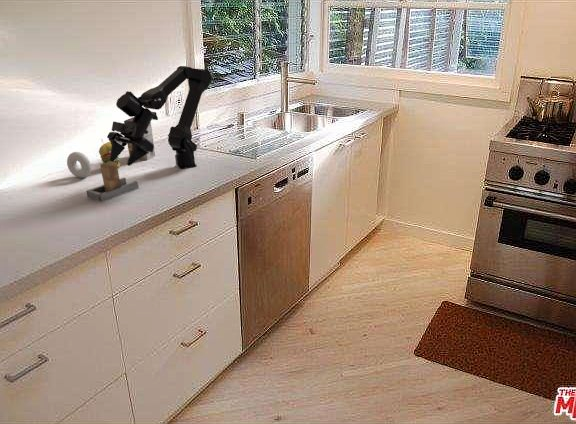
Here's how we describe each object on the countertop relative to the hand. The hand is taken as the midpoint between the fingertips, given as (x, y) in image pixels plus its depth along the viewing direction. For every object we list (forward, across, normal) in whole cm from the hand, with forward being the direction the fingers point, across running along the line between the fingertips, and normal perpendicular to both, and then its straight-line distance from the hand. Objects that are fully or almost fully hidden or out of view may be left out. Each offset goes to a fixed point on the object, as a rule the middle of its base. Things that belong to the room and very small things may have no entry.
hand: (119, 163), depth 171 cm
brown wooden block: (+9, 0, +3) cm, 10 cm away
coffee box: (-13, -25, +27) cm, 39 cm away
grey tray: (+10, 0, +4) cm, 10 cm away
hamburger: (-2, -24, +16) cm, 29 cm away
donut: (+7, -25, +6) cm, 27 cm away
